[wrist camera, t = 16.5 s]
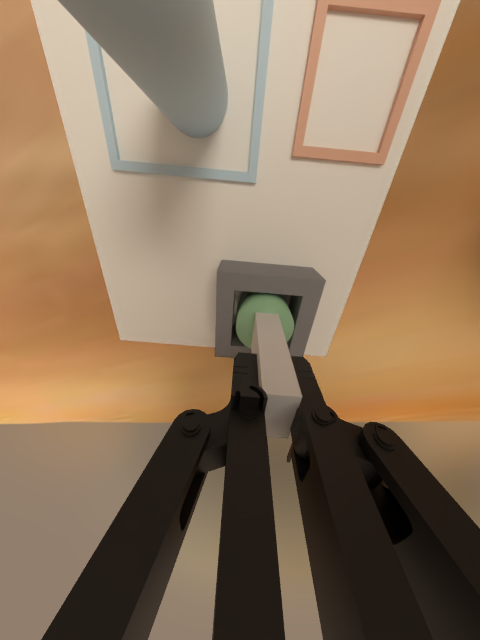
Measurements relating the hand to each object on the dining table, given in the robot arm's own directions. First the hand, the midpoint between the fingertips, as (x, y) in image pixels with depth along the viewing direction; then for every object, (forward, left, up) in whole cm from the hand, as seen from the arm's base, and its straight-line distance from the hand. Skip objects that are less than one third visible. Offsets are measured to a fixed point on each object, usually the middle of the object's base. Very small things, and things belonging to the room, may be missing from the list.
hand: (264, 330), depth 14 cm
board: (-7, -3, -5) cm, 9 cm away
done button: (0, 0, -3) cm, 3 cm away
